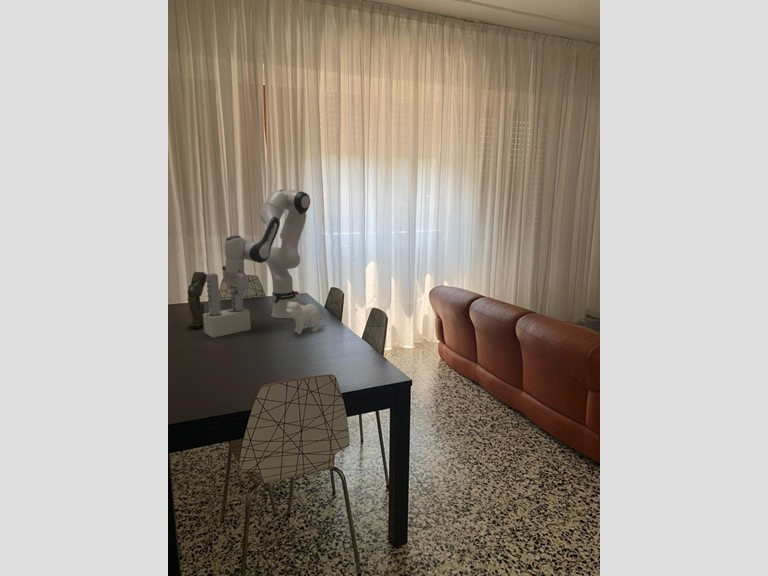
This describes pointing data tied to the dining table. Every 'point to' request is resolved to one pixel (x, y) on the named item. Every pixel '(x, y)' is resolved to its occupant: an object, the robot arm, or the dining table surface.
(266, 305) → the dining table surface
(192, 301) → the mechanical leg
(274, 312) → the robot arm
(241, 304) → the column
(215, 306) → the column
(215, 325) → the frame
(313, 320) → the white animal figurine
